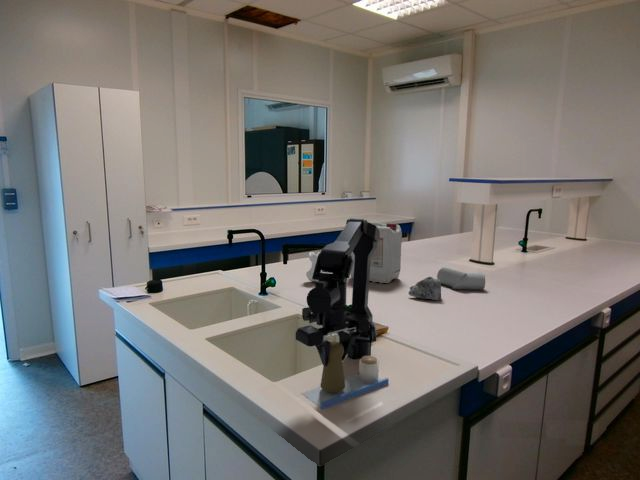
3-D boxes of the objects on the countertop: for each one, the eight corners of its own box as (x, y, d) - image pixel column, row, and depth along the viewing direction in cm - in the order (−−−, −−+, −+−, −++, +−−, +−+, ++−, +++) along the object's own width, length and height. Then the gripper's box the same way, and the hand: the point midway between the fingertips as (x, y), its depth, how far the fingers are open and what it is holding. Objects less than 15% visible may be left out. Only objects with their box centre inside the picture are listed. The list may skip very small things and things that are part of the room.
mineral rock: (407, 298, 194) (407, 275, 192) (419, 293, 202) (419, 272, 200) (433, 303, 185) (434, 280, 184) (445, 298, 193) (446, 276, 192)
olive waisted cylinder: (330, 377, 111) (330, 336, 109) (349, 385, 107) (350, 342, 106) (315, 386, 106) (315, 344, 105) (335, 394, 103) (336, 350, 101)
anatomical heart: (303, 283, 217) (304, 253, 215) (310, 278, 228) (311, 250, 226) (322, 285, 214) (322, 255, 212) (328, 279, 225) (329, 251, 223)
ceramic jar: (369, 373, 117) (369, 353, 116) (382, 380, 113) (383, 359, 112) (354, 378, 114) (355, 357, 113) (368, 385, 110) (368, 364, 109)
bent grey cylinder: (442, 289, 205) (486, 290, 203) (442, 266, 206) (486, 267, 204) (435, 287, 222) (475, 289, 221) (435, 267, 223) (475, 268, 222)
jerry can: (402, 278, 230) (404, 222, 226) (388, 285, 215) (390, 225, 210) (362, 272, 243) (363, 219, 239) (345, 279, 227) (347, 222, 223)
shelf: (365, 375, 118) (365, 366, 118) (388, 387, 111) (388, 378, 111) (301, 398, 106) (301, 388, 105) (322, 413, 99) (322, 403, 98)
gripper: (342, 287, 115) (341, 343, 118) (282, 299, 104) (283, 360, 107) (371, 297, 107) (370, 357, 109) (309, 311, 96) (309, 378, 98)
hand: (333, 362), depth 106 cm, fingers closed on olive waisted cylinder, 5 cm apart
